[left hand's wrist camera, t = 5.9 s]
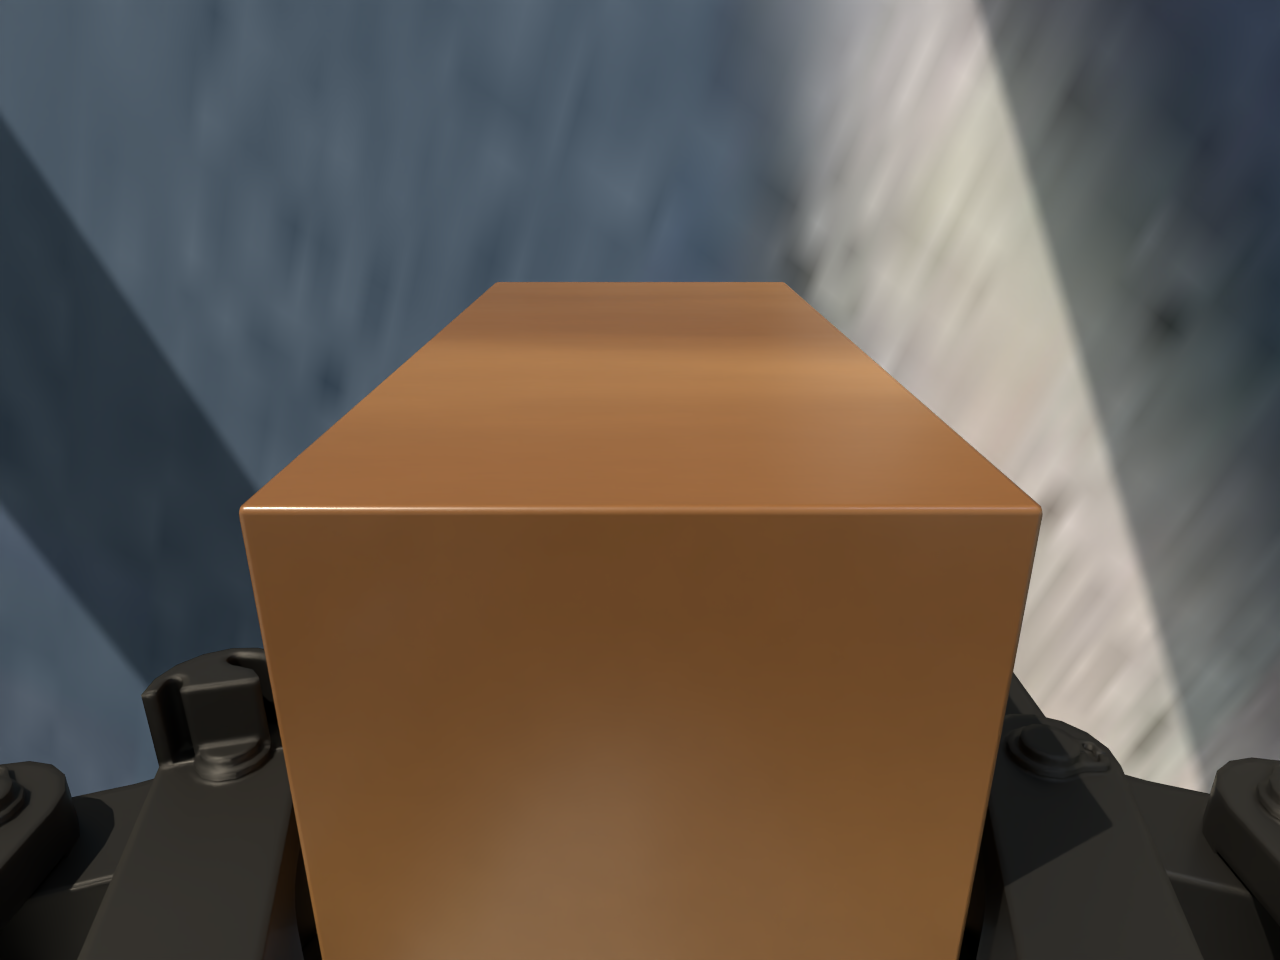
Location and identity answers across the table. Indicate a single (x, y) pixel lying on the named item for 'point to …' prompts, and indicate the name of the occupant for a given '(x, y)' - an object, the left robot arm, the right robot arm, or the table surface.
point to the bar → (640, 639)
